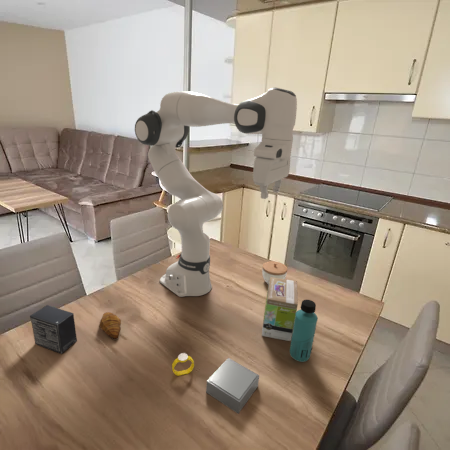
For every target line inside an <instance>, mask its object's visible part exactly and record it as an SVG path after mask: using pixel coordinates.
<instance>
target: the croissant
mask: <svg viewBox="0 0 450 450" xmlns="http://www.w3.org/2000/svg"><path fill="white" fill-rule="evenodd" d="M121 324H122V319H121V318H119V317H118V315H117V314H114V313H112V312H108V311H107V312H104V313H103V314H102V317H101V319H100V321H99V328H100V329H101V330H102V331H103V332H104V333H105V334H106V335H107V336H108V337H109V338H110V339H112V340H114V341H116V340H117V339H119V336H120V333H121V329H122V328H121Z"/></svg>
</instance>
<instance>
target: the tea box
mask: <svg viewBox="0 0 450 450" xmlns="http://www.w3.org/2000/svg"><path fill="white" fill-rule="evenodd" d="M267 286H268V287H267V293H266V298H265V307H264V311H263V312H264V313H263V314H264V315H263V323H262V330H261V336H262V337H267V338H270V339H271V338H272V339H276V340H281V341H282V340H283V341H287V342H288V341H289V342H291V339H292V333H293V329H294V323H295V317H296V312H297V311H298V302H299V301H298V300H299V299H298V298H299V297H298V282H297V281H296V280H291V279H286V278H285V279H280V278H274V277H270V280H269V285H268V284H267Z"/></svg>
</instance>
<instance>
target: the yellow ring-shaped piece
mask: <svg viewBox="0 0 450 450" xmlns="http://www.w3.org/2000/svg"><path fill="white" fill-rule="evenodd" d="M188 361H190V362H191V364H190V367H188V368H187V369H183V370H179V371H178V370H176V369H175V367H176V366H177V364H178V363H186V362H188ZM194 367H195V361H194V359H193V358H192V356H190V355H188V354H187V353H186V352H181V353H180V354H178V356H177V358H175V359H174V360H173V361H172V364H171V369H172V372H173V374H174V375H175V376H178V377H180V376H184V375H188V374H190V373H191V372H192V371H193V370H194Z"/></svg>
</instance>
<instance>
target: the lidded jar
mask: <svg viewBox="0 0 450 450" xmlns="http://www.w3.org/2000/svg"><path fill="white" fill-rule="evenodd" d="M261 273H262V278H263V280H264V281H265V283H266V284H267V286H268V285H269V280H270V277H274V278H280V279H286V277H287V274H288V267H287V266H286V265H285V264H284V263H282V262H280V261H273V260H271V261H266V262H264V263H262V270H261Z"/></svg>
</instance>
